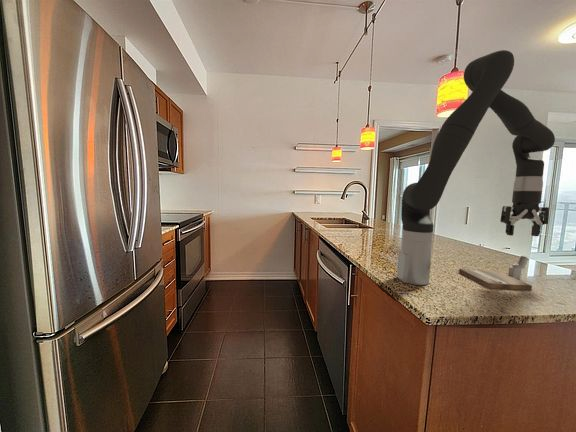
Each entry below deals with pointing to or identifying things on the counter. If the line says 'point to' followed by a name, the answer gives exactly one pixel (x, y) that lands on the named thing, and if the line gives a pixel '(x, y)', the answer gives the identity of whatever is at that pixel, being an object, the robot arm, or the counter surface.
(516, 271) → the lighter
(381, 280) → the counter surface
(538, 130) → the robot arm
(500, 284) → the brown flat slab
